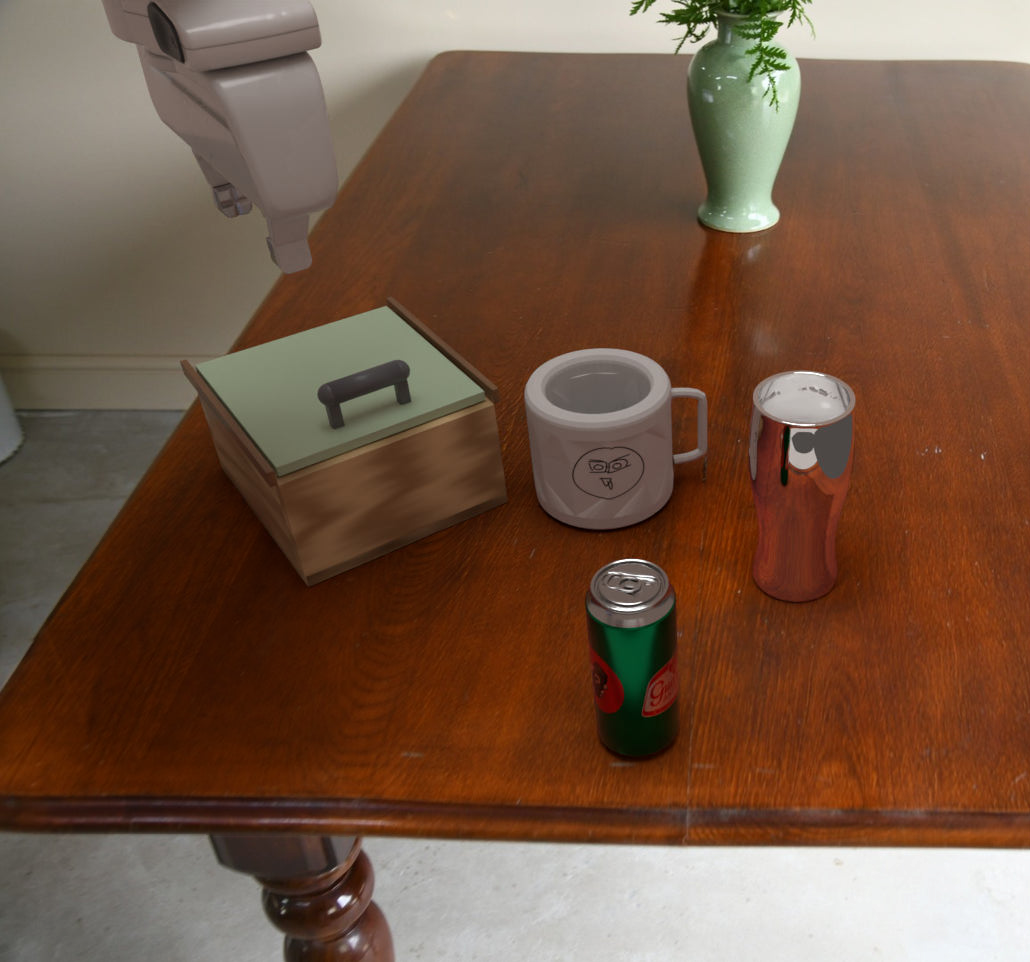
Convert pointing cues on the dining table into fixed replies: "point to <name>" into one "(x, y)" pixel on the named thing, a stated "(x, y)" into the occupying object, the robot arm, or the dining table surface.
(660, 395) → the mug
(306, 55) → the robot arm
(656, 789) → the dining table surface
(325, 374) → the slide lid
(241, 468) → the box
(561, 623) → the dining table surface
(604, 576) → the soda can
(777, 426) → the beer glass
